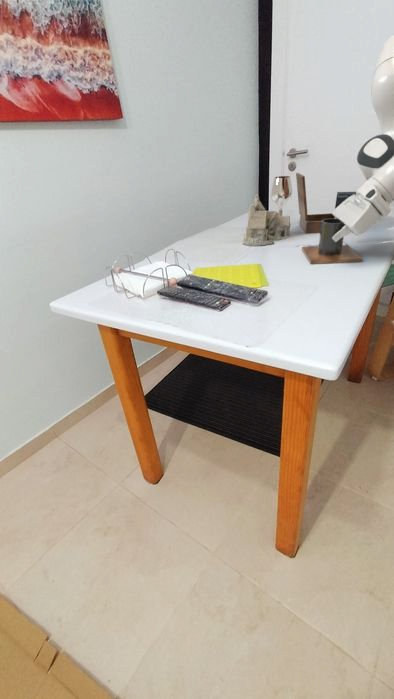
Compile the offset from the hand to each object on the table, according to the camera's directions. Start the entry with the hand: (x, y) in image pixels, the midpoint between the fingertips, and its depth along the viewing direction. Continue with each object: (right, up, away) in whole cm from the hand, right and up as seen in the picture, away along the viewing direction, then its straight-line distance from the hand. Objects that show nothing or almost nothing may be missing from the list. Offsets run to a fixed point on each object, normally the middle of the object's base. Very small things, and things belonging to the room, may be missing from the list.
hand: (329, 236), depth 98 cm
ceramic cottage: (-14, +6, +22) cm, 27 cm away
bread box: (+7, +11, +28) cm, 31 cm away
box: (+21, +19, +38) cm, 47 cm away
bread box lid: (-1, +22, +22) cm, 31 cm away
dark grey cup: (+1, -4, +2) cm, 5 cm away
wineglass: (-6, +16, +38) cm, 41 cm away
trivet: (+1, -5, +3) cm, 6 cm away
